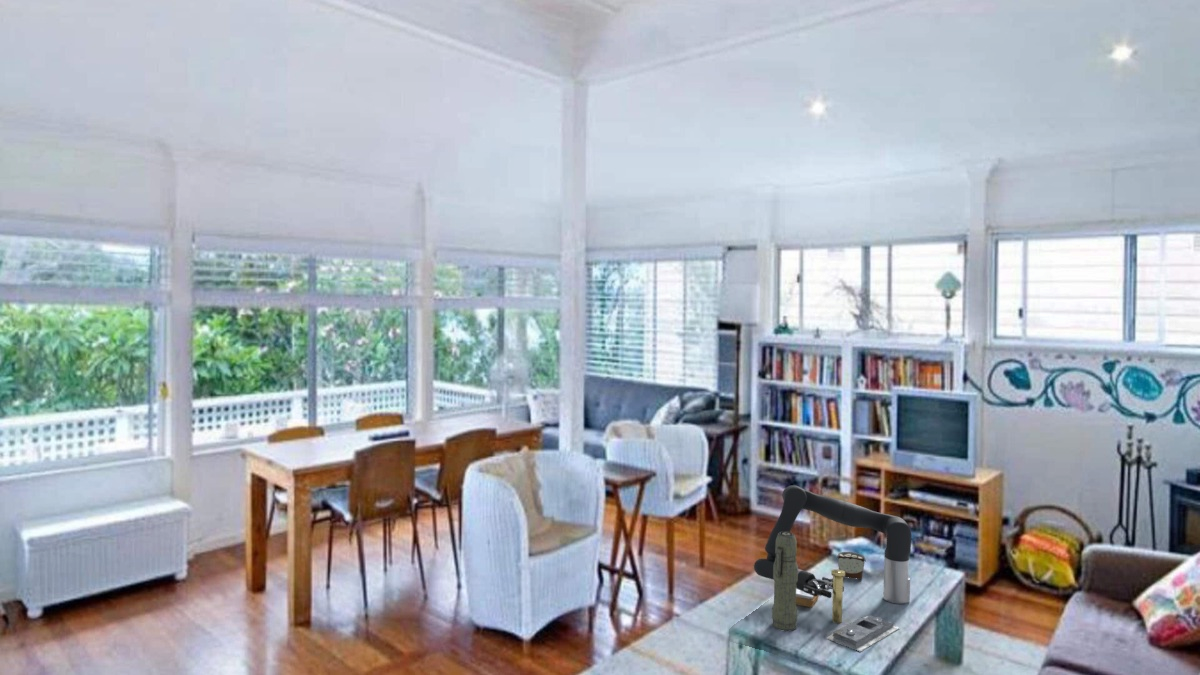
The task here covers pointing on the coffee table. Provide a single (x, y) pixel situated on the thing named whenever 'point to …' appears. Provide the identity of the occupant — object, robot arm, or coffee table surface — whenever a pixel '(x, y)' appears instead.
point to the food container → (851, 564)
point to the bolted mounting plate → (863, 632)
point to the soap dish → (805, 598)
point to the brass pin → (837, 595)
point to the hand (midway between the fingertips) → (837, 592)
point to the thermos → (785, 582)
